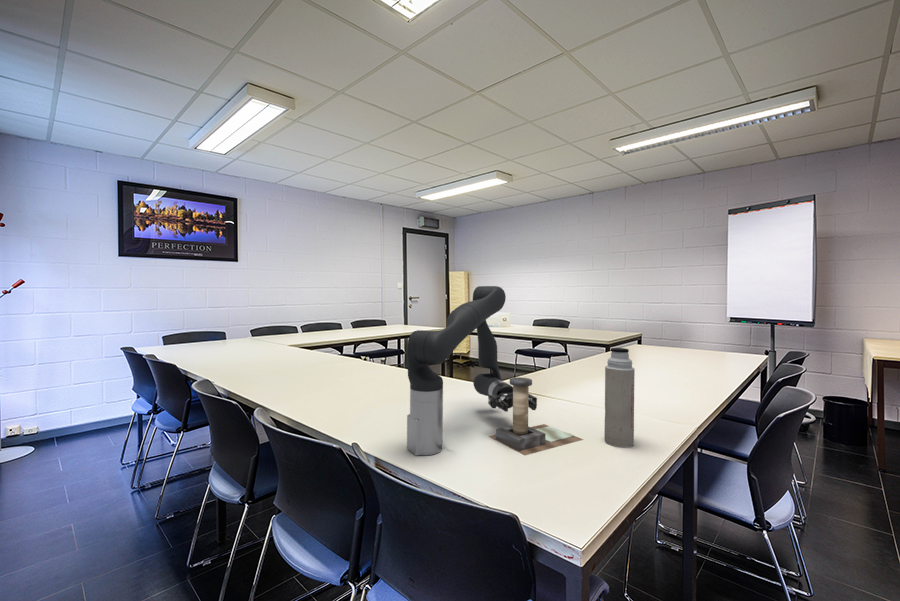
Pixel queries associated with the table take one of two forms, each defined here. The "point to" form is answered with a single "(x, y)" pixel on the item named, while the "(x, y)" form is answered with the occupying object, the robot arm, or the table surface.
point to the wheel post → (520, 404)
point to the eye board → (534, 439)
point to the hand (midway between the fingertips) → (520, 407)
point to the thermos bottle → (619, 399)
